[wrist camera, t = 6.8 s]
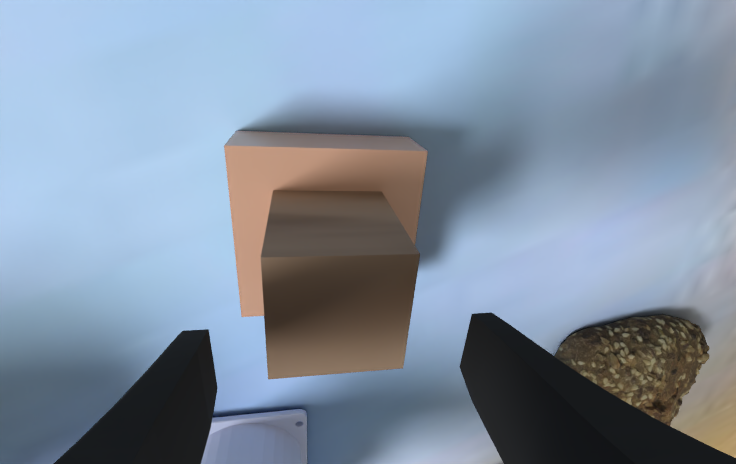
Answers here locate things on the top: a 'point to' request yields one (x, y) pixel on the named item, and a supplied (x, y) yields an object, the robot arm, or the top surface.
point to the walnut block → (335, 283)
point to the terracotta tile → (312, 185)
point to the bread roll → (640, 360)
